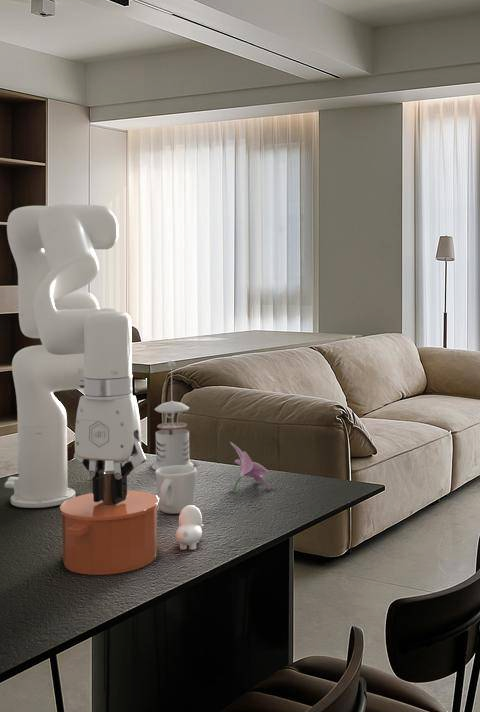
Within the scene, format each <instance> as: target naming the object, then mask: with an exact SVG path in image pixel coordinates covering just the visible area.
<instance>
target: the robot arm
mask: <svg viewBox="0 0 480 712" xmlns="http://www.w3.org/2000/svg"><path fill="white" fill-rule="evenodd" d="M6 234H7V235H6V236H7V241H8V245H9V248H10V251H11V254H12V256H13V259H14V263H15V266H16V269H17V290H18V291H17V292H18V293H17V295H18V299H17V300H18V322H19V328H20V331H21V333H22V334H23V335H24V337H27V338H31V339H39V340H40V342H41V344H36V345H30V346H26V347H24V348H21V349H20V350H18V351H17V352H16V353H15V354H14V356H13V358H12V361H11V373H12V379H13V384H14V389H15V396H16V411H17V467H18V468H17V469H18V472H17V473H18V476H9V477H7V480H6V481H5V483H4V488H5V489H10V490H12V489H13V494H12V495H11V496H10V504H11V505H12V506H14V507H17V508H23V509H43V508H50V507H56V506H61V504H62V503H63V502H65V501H67V500H69V499H71V498H74V497H77V496H76V491H75V489H74V488H70V487H68V486H69V485H68V484H69V483H68V481H69V479H68V419H67V418H68V417H67V416H68V415H67V411H66V408H65V407H64V405H63V404H62V402H61V401H59V400H58V398H57V397H56V396H55V395H54V393H56V392H61V391H69V390H70V391H72V390H81V389H83V393H84V395H81V396H80V397H79V401H78V406H77V409H76V416H75V428H74V453H73V459H75V460H76V461H77V462H79V463H81V464H82V465H83V466H84V468H85V469H86V470H87V472H88V475H89V477H90V478H91V479H92V493H93V498H94V502H99V501H101V500H102V472H104V471H105V460H106V461H114V474H115V478H114V479H112V503H113V504H118V503H120V502H122V501H124V500H125V499H126V495H127V490H128V476H130V475H131V473H132V471H133V470H134V469H135V468H136V467H138V466H140V465H143V464H145V463H146V461H147V458H146V455H145V453H144V451H143V449H142V429H141V428H142V427H141V419H140V418H141V417H140V412H139V406H138V401H137V397H136V395H133V360H132V359H133V352H132V351H133V349H132V348H133V345H132V341H133V340H132V338H133V337H132V336H133V335H132V319H131V316H130V315H129V314H128V313H127V312H124V311H120V310H118V309H115V308H107V307H106V308H100V307H99V303H98V300H97V298H96V297H95V296H94V294H92V293H91V292H89V291H83V290H80V289H82V288H84V287H86V286H88V285H90V284H91V282H93V280H95V279H96V278H97V275H98V274H99V270H100V265H99V261H98V258H97V255H96V252H95V250H110V249H112V248H113V247H114V246H115V245H116V244H117V240H118V238H119V224H118V220H117V217H116V216H115V213H114V212H113V211H112V210H111V209H110V208H109V207H107V206H105V205H99V204H98V205H95V204H94V205H93V204H56V205H27V206H21V207H20V206H19V207H17V208H15V209H13V210H12V211H11V212H10V213H9V215H8V218H7V223H6ZM130 457H132V459H131V460H130Z"/></svg>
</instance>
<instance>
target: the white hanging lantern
mask: <svg viewBox="0 0 480 712" xmlns="http://www.w3.org/2000/svg"><path fill="white" fill-rule="evenodd" d="M175 366H176V362H175V361H173V360H169V361H168V362H167V367H170V384H171V385H170V396H171V398H170V399H171V400H170V401H167V402H163V403H161V404H158V405H157V406H156V407H155V408H154V411H156V412H157V413H161V414H165V422H164V423H158V424H157V426H156V428H157V429H159V430H157V431H155V463H154V464H153V465H152V466H151V469H153V470H155V471H156V470H157V469H159V468H161V467H166V466H173V465H187V466H192V467H194V463H193V462H192V461H190V430H189V429H186V428H187V426H188V423H185V422H174V417H175V414H178V413H184V412H188V411H189V410H190V406H188V405H186V404H184V403H182V402H179V401H174V400H173V367H175ZM168 414H171V416H169V415H168ZM167 419H171V422H167V421H168V420H167ZM170 431H171V432H172V433H171V434H170Z"/></svg>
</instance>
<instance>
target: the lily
mask: <svg viewBox="0 0 480 712" xmlns="http://www.w3.org/2000/svg"><path fill="white" fill-rule="evenodd" d="M229 443H230V445H231V446H232V447H233V449H234V450H235V452H236V453H237V455H238V457H239V458H237V459H235V460H234V463H235V464H237V465H239V466H240V476H239V477H238V478H237V480H236V483H235V484H234V487H233V489H232V492H231V493H235V490H236V488H237V485H238V483H239V482H240V480H241V478H242V477H251V478H253V479H254V481H255V482H256V484H260V482H261V483H262V484H263V485H264V486H265V487H266V488H267V489H268V490H269V491H270V490H271V487H270V486H269V484H268V483H267V482H266V480H265V479H264V478H263V477H265V476H268V475H270V471H269V470H268V469H267V468H266V467H264V466H263V465H261V464H260V463H258V462H255V461H253V460H252V459H251V457H250V456H249V454H248V453H247V452H246V451H245V450H242V449H241V448H240V447H238V446H237V445H236V444H235V443H233V442H231V441H229Z"/></svg>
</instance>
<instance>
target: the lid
mask: <svg viewBox="0 0 480 712" xmlns="http://www.w3.org/2000/svg"><path fill="white" fill-rule="evenodd" d="M114 478H115V474H114V471H104V472H102V500H101V501H99V502H94V498H93V492H89V493H86V494H85V493H84V494H82V495H77V496H76V497H74V498H71V499H69V500H67V501H65V502H63V503H62V504H61V505H59V513H60V514H61V515H64V516H66V517H68V518H72V519H77V520H87V521H105V520H117V519H124V518H130V517H134V516H138V515H142V514H145V513H148V512H150V511H152V510H154V509H155V508H156V507H159V499H158V495H155V494H154V493H150V492H146V491H141V490H129V489H127V495H126V499H125V500H124V501H122V502H120V503H118V504H113V503H112V479H114Z"/></svg>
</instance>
